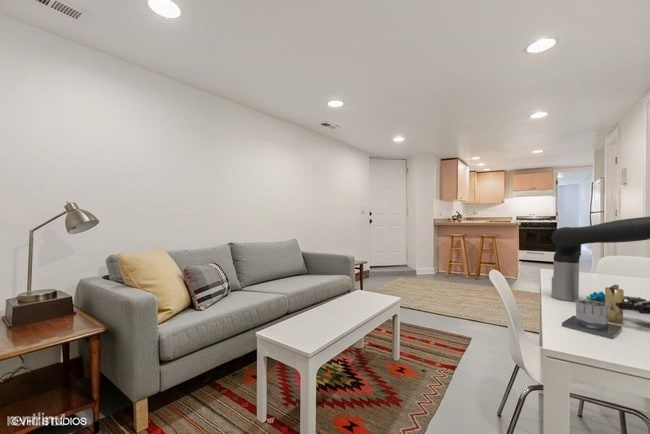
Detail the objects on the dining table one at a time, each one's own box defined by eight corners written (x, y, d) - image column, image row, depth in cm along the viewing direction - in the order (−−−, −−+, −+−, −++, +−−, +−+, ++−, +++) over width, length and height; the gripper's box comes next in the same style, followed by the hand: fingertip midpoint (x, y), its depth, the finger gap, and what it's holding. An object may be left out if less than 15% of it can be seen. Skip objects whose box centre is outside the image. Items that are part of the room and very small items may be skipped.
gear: (626, 306, 121) (617, 291, 118) (624, 319, 118) (615, 303, 115) (591, 303, 130) (582, 289, 127) (589, 314, 128) (580, 300, 125)
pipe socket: (561, 326, 104) (562, 301, 103) (573, 318, 111) (573, 296, 111) (612, 339, 93) (613, 312, 93) (621, 329, 101) (622, 304, 101)
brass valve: (602, 321, 108) (603, 286, 108) (607, 317, 112) (607, 283, 112) (620, 325, 104) (621, 289, 104) (624, 321, 109) (625, 286, 108)
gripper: (661, 292, 108) (603, 287, 115) (689, 303, 95) (622, 297, 102) (660, 312, 109) (603, 306, 115) (688, 326, 96) (622, 318, 102)
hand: (612, 302), depth 109 cm, fingers open, 8 cm apart
